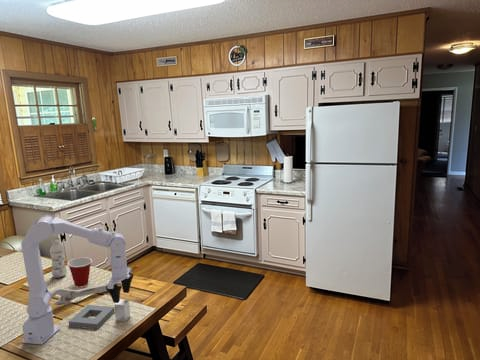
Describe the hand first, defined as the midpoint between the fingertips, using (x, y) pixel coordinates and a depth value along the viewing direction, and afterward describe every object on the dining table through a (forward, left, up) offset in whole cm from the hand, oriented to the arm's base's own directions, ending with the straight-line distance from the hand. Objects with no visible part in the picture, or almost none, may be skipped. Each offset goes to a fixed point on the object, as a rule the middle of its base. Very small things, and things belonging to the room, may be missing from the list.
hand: (121, 297), depth 128 cm
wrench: (+13, +24, -10) cm, 29 cm away
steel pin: (0, 0, -9) cm, 9 cm away
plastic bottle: (+30, +52, -9) cm, 61 cm away
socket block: (-2, +12, -9) cm, 15 cm away
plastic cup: (+24, +35, -9) cm, 43 cm away
